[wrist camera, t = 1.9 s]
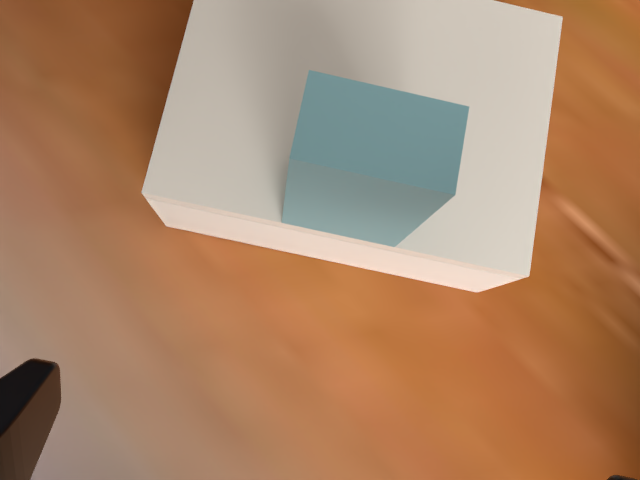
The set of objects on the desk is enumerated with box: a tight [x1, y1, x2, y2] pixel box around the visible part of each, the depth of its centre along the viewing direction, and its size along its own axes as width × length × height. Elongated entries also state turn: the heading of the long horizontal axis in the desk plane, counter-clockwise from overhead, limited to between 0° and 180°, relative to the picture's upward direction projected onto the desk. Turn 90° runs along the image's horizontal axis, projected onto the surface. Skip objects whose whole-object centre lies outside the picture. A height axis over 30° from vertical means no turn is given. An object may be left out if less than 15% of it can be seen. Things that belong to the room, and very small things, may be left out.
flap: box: [141, 0, 563, 279], centre depth 17 cm, size 9×12×7 cm
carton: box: [146, 198, 520, 292], centre depth 22 cm, size 9×12×4 cm
